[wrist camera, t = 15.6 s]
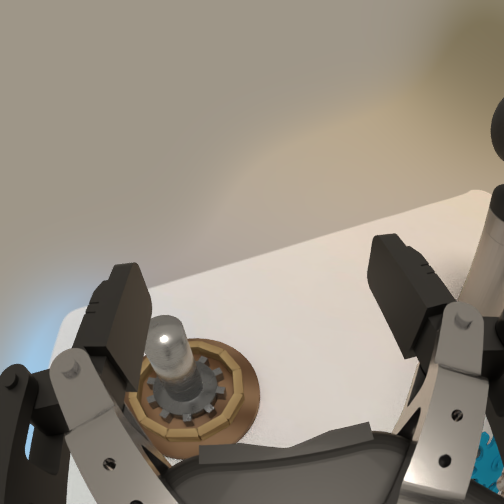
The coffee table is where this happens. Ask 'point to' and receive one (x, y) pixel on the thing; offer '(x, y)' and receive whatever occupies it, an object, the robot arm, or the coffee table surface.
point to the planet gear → (180, 374)
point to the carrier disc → (206, 429)
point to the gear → (488, 464)
